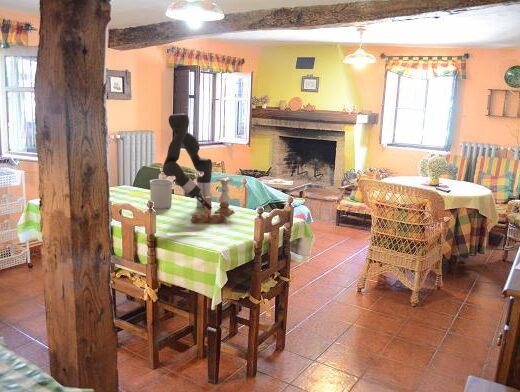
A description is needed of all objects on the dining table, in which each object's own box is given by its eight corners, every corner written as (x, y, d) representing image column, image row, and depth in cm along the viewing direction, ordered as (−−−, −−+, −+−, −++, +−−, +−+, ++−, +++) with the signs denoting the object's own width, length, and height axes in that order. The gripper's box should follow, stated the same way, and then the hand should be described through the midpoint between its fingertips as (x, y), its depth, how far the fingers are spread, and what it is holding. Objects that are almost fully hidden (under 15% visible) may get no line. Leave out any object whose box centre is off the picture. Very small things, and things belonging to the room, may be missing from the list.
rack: (191, 226, 270) (191, 218, 269) (190, 221, 280) (190, 214, 280) (226, 225, 274) (226, 218, 273) (223, 220, 284) (224, 213, 283)
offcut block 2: (209, 222, 274) (209, 215, 273) (209, 221, 277) (209, 213, 276) (219, 222, 275) (219, 214, 274) (219, 221, 278) (219, 213, 277)
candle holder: (235, 214, 300) (236, 178, 295) (228, 218, 290) (229, 180, 285) (219, 212, 304) (220, 176, 299) (212, 216, 294) (213, 179, 289)
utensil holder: (175, 208, 313) (175, 182, 309) (152, 209, 306) (152, 183, 302) (169, 203, 325) (169, 178, 322) (147, 204, 319) (147, 179, 315)
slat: (205, 220, 278) (205, 197, 275) (204, 219, 280) (205, 196, 277) (210, 220, 279) (211, 197, 276) (210, 219, 280) (211, 196, 278)
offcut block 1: (197, 222, 273) (197, 215, 272) (197, 221, 275) (197, 213, 274) (207, 222, 274) (207, 215, 273) (207, 221, 277) (207, 213, 276)
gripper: (196, 186, 267) (216, 205, 271) (194, 181, 280) (213, 200, 285) (186, 195, 267) (206, 214, 271) (185, 190, 280) (204, 208, 285)
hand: (210, 207), depth 278 cm, fingers open, 8 cm apart
